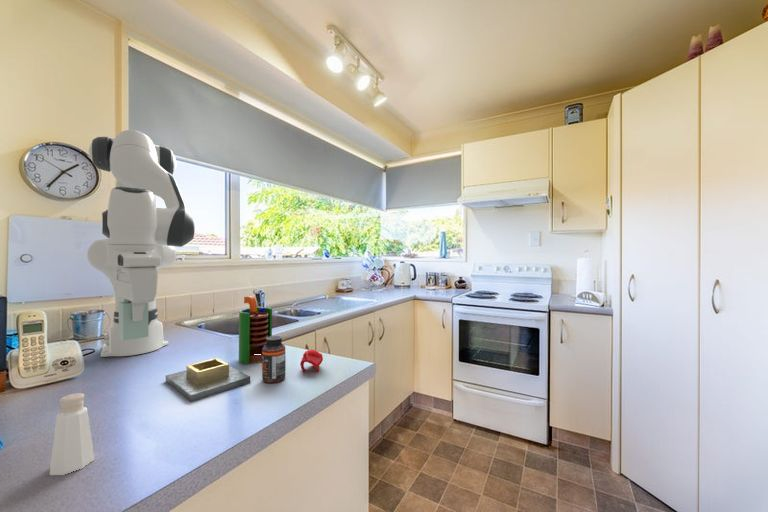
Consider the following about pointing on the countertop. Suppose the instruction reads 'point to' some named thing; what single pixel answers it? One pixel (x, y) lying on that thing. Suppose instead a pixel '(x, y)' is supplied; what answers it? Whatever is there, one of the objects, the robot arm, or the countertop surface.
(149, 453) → the countertop surface
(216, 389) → the mounting plate
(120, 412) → the countertop surface
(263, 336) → the motor
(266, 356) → the supplement bottle
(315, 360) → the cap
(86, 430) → the salt shaker
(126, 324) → the pale green flat box
